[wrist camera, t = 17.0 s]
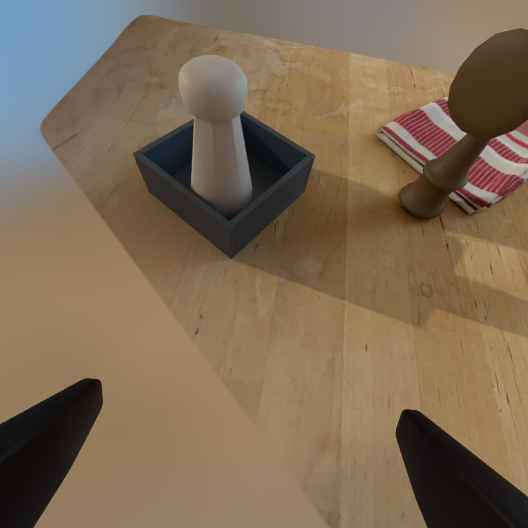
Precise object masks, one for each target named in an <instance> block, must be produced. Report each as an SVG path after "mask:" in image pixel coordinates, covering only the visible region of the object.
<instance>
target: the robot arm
mask: <svg viewBox="0 0 528 528" xmlns="http://www.w3.org/2000/svg"><path fill="white" fill-rule="evenodd" d="M102 405H103V397H102V385H101V381H100V380H98V379H90V378H85V379H83V380H81V381H79V382H77V383H75V384H73V385H71V386H69V387H68V388H66V389H64V390H62V391H60V392H59V393H57V394H55V395H53V396H51V397H49V398H47V399H46V400H44V401H42V402H40V403H38V404H36V405H35V406H33V407H31V408H29V409H27V410H25V411H24V412H22V413H20V414H18V415H16V416H14V417H12V418H11V419H9V420H7V421H5V422H3V423H1V424H0V528H34V526H35V524H36V523H37V521H38V520H39V518H40V516H41V515H42V513H43V512H44V510H45V509H46V507H47V505H48V504H49V502H50V501H51V499H52V497H53V496H54V494H55V493H56V491H57V489H58V488H59V486H60V485H61V483H62V482H63V480H64V478H65V477H66V475H67V473H68V472H69V470H70V468H71V466H72V464H73V462H74V461H75V459H76V457H77V455H78V453H79V451H80V449H81V448H82V446H83V444H84V441H85V440H86V438H87V436H88V434H89V432H90V430H91V428H92V426H93V424H94V422H95V420H96V418H97V416H98V415H99V413H100V410H101V408H102ZM396 439H397V442H398V445H399V448H400V451H401V454H402V458H403V461H404V464H405V467H406V470H407V473H408V476H409V480H410V483H411V486H412V489H413V492H414V495H415V498H416V500H417V503H418V505H419V508H420V511H421V513H422V515H423V518H424V520H425V523H426V525H427V528H528V497H527V496H526V495H525V494H524V493H522V492H521V491H520V490H519V489H517V488H516V487H515V486H513V485H512V484H511V483H510V482H508V481H507V480H506V479H505V478H503V477H502V476H501V475H500V474H498V473H497V472H496V471H494V470H493V469H492V468H491V467H489V466H488V465H487V464H486V463H484V462H483V461H482V460H481V459H479V458H478V457H477V456H475V455H474V454H473V453H472V452H470V451H469V450H468V449H467V448H465V447H464V446H463V445H461V444H460V443H459V442H458V441H456V440H455V439H454V438H453V437H451V436H450V435H449V434H448V433H446V432H445V431H444V430H442V429H441V428H440V427H439V426H437V425H436V424H435V423H434V422H432V421H431V420H430V419H428V418H427V417H426V416H425V415H423V414H422V413H421V412H419V411H417V410H409V409H405V410H403V411H402V413H401V416H400V419H399V422H398V425H397V428H396Z"/></svg>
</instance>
